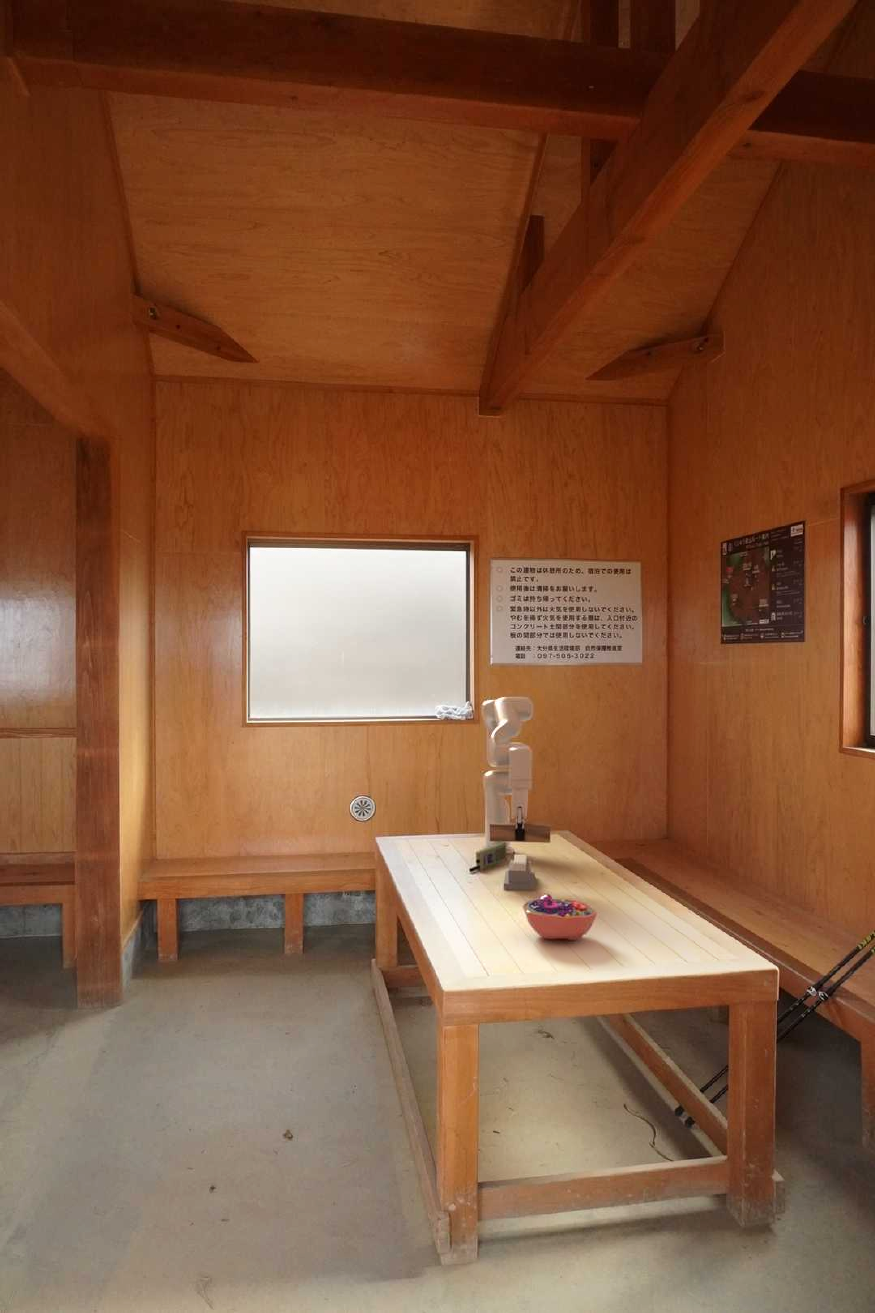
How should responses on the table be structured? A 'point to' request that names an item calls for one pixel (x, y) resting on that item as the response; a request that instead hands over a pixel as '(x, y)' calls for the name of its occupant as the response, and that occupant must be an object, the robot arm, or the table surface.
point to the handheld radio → (490, 856)
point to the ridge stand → (519, 875)
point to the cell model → (559, 917)
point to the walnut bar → (531, 832)
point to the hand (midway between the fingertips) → (520, 838)
